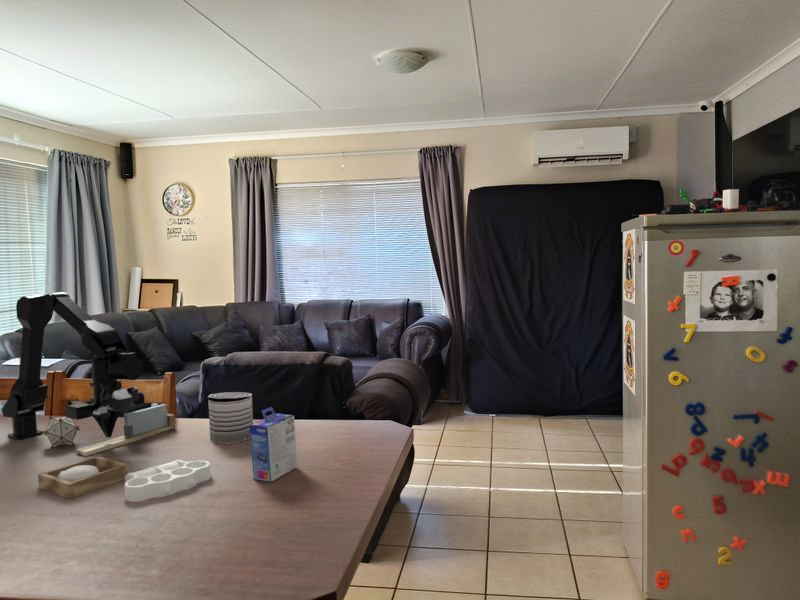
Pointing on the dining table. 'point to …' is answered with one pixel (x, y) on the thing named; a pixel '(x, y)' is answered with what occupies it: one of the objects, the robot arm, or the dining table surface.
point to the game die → (61, 431)
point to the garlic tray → (108, 475)
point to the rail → (125, 439)
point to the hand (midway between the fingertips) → (108, 437)
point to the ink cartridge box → (273, 446)
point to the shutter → (145, 420)
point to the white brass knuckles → (165, 479)
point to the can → (230, 416)
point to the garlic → (78, 472)
